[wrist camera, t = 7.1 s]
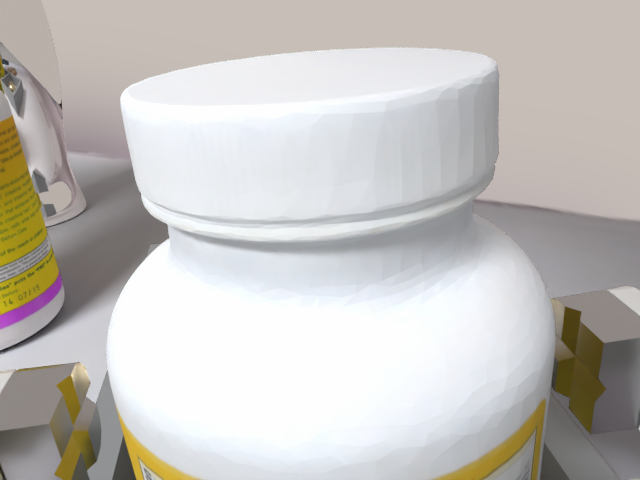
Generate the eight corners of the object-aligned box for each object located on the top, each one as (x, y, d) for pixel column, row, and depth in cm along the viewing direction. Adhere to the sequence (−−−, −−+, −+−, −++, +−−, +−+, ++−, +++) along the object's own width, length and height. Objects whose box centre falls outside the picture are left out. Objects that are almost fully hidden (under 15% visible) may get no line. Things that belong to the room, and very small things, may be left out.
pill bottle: (341, 473, 16) (306, 39, 12) (574, 624, 12) (667, 38, 7) (136, 660, 12) (-49, 98, 7) (383, 995, 8) (318, 177, 3)
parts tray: (926, 1053, 7) (1008, 971, 6) (-105, 1343, 6) (-213, 1304, 5) (409, 260, 28) (409, 213, 27) (160, 292, 27) (150, 244, 26)
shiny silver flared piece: (-26, 244, 34) (-121, -31, 28) (-12, 209, 40) (-89, -24, 34) (96, 220, 37) (31, -40, 31) (91, 190, 43) (36, -32, 37)
